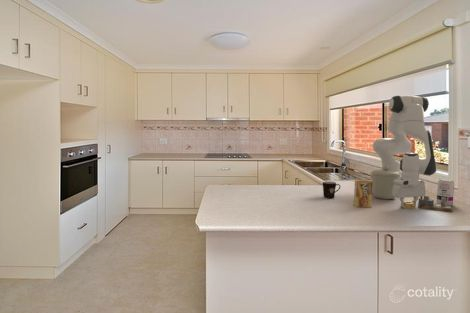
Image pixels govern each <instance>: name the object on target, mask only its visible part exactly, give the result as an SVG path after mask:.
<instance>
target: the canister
mask: <svg viewBox="0 0 470 313" xmlns="http://www.w3.org/2000/svg"><path fill="white" fill-rule="evenodd" d="M370 174H371V181H372V182H373V184H372V188H373V194H372V196H374V197H375V198H377V199H381V200H394V199H396V197H393V195H392V190H393V185H394V183H393V182H394V180H395V179H398V178H400V177H401V175H402V173H401V172H400V173H399V172H397V171H391V170H389V167H388V166H384V167H383V170H382V169H375V170H372V171H371V172H370Z"/></svg>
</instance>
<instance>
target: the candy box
mask: <svg viewBox="0 0 470 313" xmlns="http://www.w3.org/2000/svg"><path fill="white" fill-rule="evenodd" d="M372 184H373V182H372V179H371V180H370V179H367V180H365V179H364V180H362V179H355V180H354V196H353V206H354V207H356V208H372V201H373V200H372V198H373V194H372Z"/></svg>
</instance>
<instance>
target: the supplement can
mask: <svg viewBox="0 0 470 313" xmlns="http://www.w3.org/2000/svg"><path fill="white" fill-rule="evenodd" d="M436 190H437V191H436V204H441V197H444V198H446V205H450V206H451V207H452V205H453V204H454V196H455V194H454V193H455V182H454V180H453V179H448V178H440V179H438V181H437V189H436Z"/></svg>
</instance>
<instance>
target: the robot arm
mask: <svg viewBox="0 0 470 313" xmlns="http://www.w3.org/2000/svg"><path fill="white" fill-rule="evenodd" d="M429 105H430V103H429V100H428V98H427V97H425V96H421V95H420V96H418V95H417V96H416V95H394V96H392V97H391V98H390V100H389V104H388V108H389V110H390V112H391V114H390V118H389V121H388V125H387V130H388V132H389V133H390V134H392V135H393V136H392V138H391V137H382V138H377V139H375V140H374V141H373V144H372V149H373V151H374V152H375V153H376V154H377V156H379V158H380V160H381V166H382V167H381V170H383V167H384V166H388V167H389V170H391V171H397V172H399V173H400V174H401V176H400V178H398V179H395V180H394V182H393V183H394V185H393V190H392V195H393V197H395V199H396V198H397V199H399V201H400V206H401V205H405V202H404V201H405V198H413V200H411V202H414V203H416V204H417V202H418V201H419V198H420V197H422V198H424V196H426V195H427V194H426V191H427V190H426V185H425V184H426V183H425V181H424V180H420V175H423V176H431V175H432V176H433V175H434V174H435V173H436V172H437V170H438V169H437V168H438V166H437V160H436V159H435V152H434V146H433V140H432V134H431V132H430V130H428V129H426V126H425V112H427V111H428V109H429ZM408 137H410V138H411V139H415V140H419V141H421V142H422V143H423V144H424V149H425V150H424V151H425V157H420V154H419V153H418V152H414V151H412V148H413V145H412V144H413V143H412V142H411V140H410V139H409V138H408ZM394 155H403V158H401V160H399V161H398V160H397V159H395V158H394ZM401 172H402V173H401ZM372 195H373V188H372Z"/></svg>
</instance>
